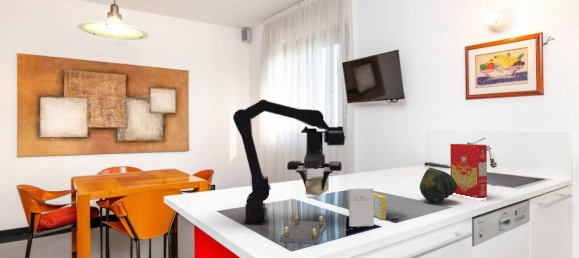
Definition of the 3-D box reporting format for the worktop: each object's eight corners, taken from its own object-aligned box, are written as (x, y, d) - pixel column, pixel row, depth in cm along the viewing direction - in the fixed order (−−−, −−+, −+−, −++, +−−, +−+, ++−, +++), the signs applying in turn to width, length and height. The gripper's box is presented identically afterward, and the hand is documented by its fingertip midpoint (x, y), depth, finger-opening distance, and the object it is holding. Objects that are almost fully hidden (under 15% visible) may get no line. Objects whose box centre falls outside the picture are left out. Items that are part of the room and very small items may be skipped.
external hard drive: (348, 225, 110) (348, 188, 110) (372, 224, 110) (372, 187, 110) (350, 226, 108) (349, 189, 108) (374, 225, 109) (373, 188, 109)
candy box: (386, 220, 116) (386, 196, 116) (381, 220, 116) (381, 197, 116) (365, 209, 132) (365, 188, 132) (360, 209, 131) (360, 189, 131)
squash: (413, 202, 143) (413, 168, 143) (429, 197, 153) (429, 165, 153) (447, 208, 132) (446, 171, 132) (461, 202, 142) (461, 168, 142)
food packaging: (450, 195, 158) (450, 143, 158) (458, 194, 160) (458, 143, 160) (478, 201, 145) (478, 145, 145) (486, 200, 147) (486, 144, 147)
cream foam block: (305, 194, 114) (305, 180, 114) (315, 189, 124) (315, 175, 124) (319, 195, 112) (319, 180, 112) (328, 189, 122) (328, 176, 122)
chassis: (280, 241, 94) (280, 228, 94) (293, 223, 111) (293, 213, 111) (318, 244, 91) (318, 231, 91) (326, 225, 109) (325, 214, 109)
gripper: (283, 146, 109) (283, 193, 109) (339, 147, 105) (339, 195, 105) (290, 145, 120) (291, 187, 120) (341, 145, 116) (342, 189, 116)
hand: (314, 190), depth 115 cm, fingers closed on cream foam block, 5 cm apart
